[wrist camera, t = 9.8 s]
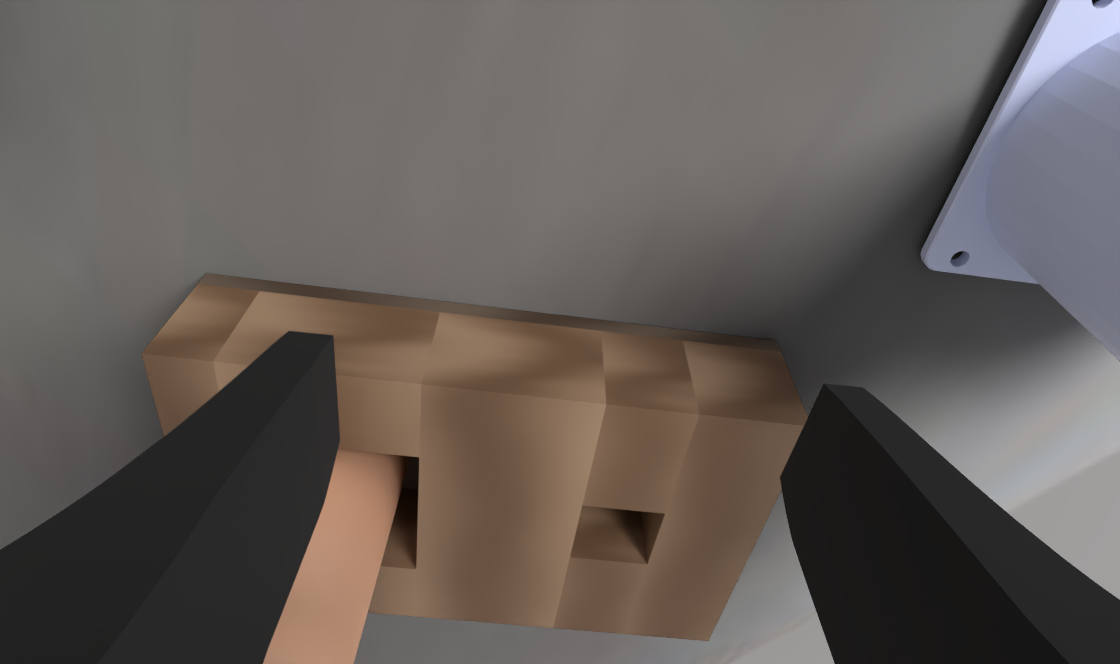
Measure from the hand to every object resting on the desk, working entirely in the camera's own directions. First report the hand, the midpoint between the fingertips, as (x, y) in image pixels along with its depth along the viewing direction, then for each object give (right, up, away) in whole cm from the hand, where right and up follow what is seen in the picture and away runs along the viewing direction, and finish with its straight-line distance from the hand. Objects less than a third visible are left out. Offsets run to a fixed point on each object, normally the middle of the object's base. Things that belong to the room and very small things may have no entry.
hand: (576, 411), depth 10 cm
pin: (-7, -2, +14) cm, 16 cm away
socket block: (-3, -2, +15) cm, 15 cm away
